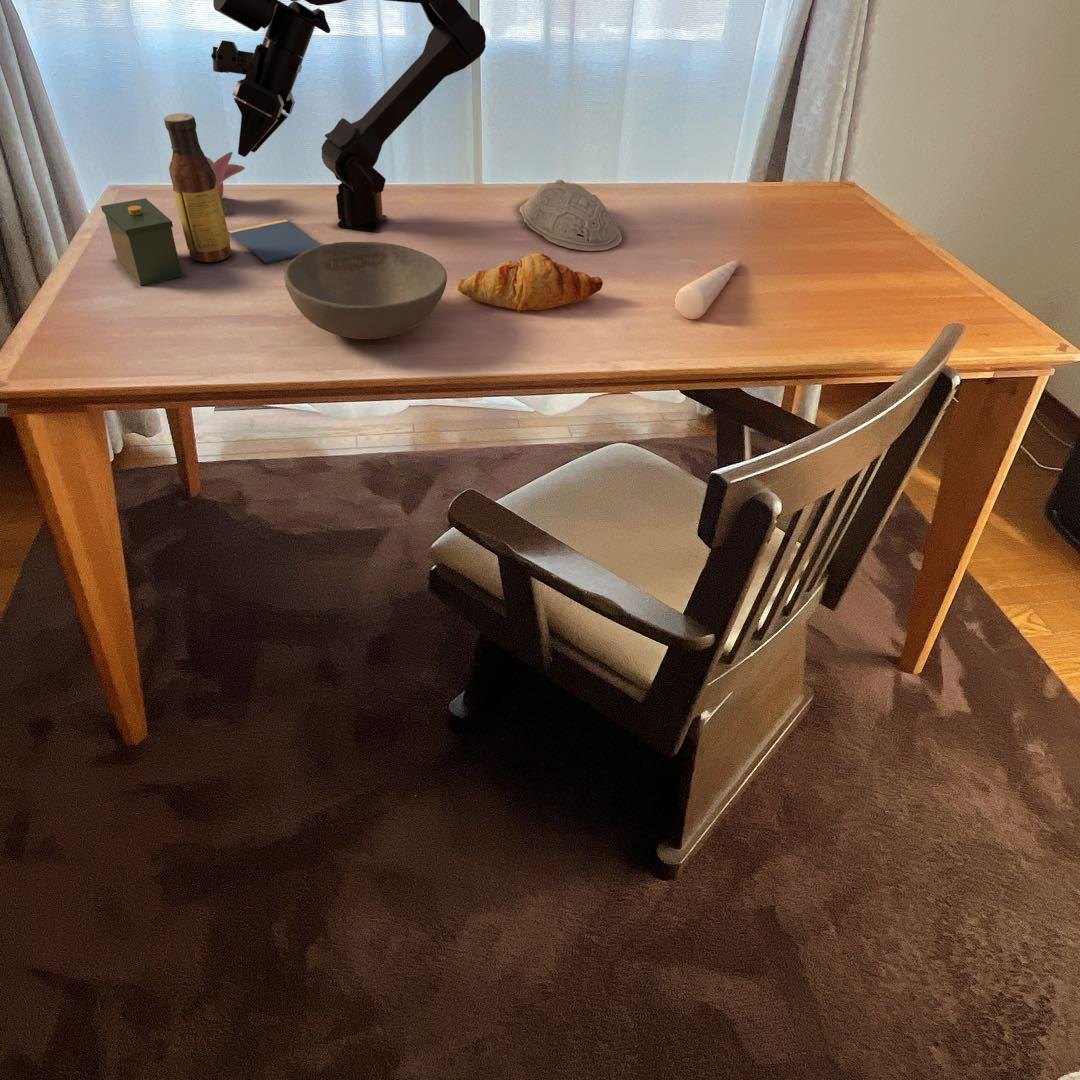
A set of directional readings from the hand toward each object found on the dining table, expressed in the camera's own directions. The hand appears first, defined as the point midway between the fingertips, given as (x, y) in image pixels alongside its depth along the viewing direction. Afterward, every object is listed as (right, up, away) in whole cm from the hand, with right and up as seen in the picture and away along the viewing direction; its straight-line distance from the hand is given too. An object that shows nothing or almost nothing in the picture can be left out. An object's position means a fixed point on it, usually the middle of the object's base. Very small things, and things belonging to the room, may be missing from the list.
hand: (246, 153), depth 131 cm
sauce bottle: (-7, -15, +3) cm, 16 cm away
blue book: (+2, -10, +8) cm, 14 cm away
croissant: (+42, -23, -2) cm, 48 cm away
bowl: (+21, -29, -11) cm, 37 cm away
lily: (-11, -1, +18) cm, 22 cm away
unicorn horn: (+70, -20, +3) cm, 73 cm away
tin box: (-14, -18, -2) cm, 23 cm away
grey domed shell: (+49, -3, +21) cm, 54 cm away
